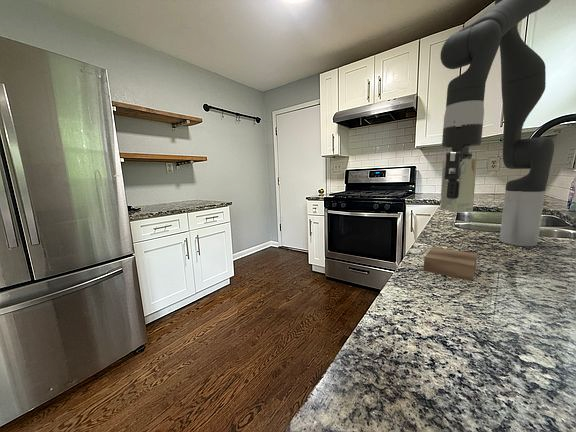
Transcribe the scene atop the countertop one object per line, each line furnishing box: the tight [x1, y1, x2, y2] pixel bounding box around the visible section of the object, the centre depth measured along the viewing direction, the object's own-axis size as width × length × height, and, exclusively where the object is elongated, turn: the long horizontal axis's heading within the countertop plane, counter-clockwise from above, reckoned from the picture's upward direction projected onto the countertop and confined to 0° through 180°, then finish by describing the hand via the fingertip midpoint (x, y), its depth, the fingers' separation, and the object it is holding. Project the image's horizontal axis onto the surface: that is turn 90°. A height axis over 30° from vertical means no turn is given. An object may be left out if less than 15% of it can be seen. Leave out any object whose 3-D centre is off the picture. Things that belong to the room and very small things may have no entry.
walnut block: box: [423, 246, 478, 282], centre depth 63 cm, size 10×10×4 cm
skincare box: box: [439, 158, 478, 213], centre depth 59 cm, size 6×4×12 cm
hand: (456, 196), depth 60 cm, fingers closed on skincare box, 7 cm apart
